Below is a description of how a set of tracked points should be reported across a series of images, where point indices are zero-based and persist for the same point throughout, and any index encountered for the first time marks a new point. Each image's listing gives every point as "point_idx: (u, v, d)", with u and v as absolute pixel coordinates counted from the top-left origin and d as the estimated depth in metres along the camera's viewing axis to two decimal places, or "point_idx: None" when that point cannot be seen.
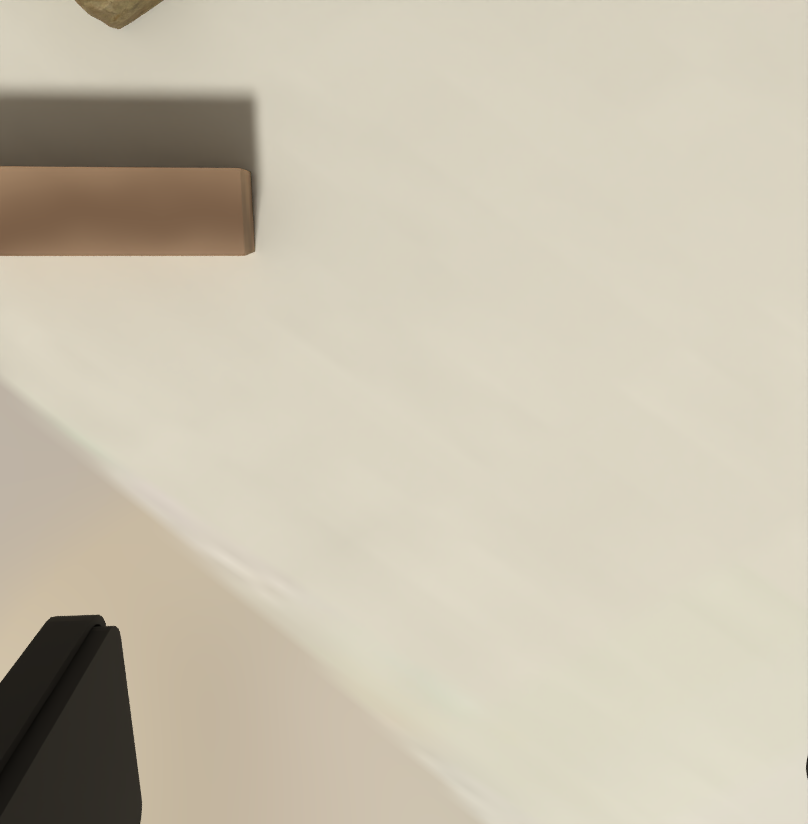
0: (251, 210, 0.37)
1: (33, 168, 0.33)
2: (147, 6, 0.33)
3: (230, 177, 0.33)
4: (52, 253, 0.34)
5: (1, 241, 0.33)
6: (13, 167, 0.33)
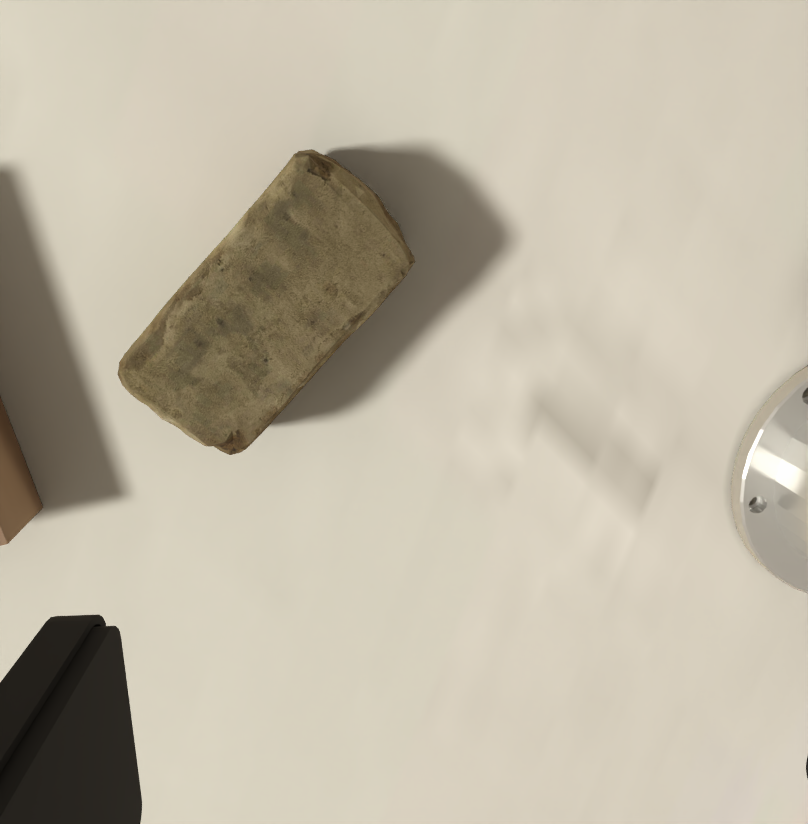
0: None
1: None
2: None
3: None
4: None
5: None
6: None
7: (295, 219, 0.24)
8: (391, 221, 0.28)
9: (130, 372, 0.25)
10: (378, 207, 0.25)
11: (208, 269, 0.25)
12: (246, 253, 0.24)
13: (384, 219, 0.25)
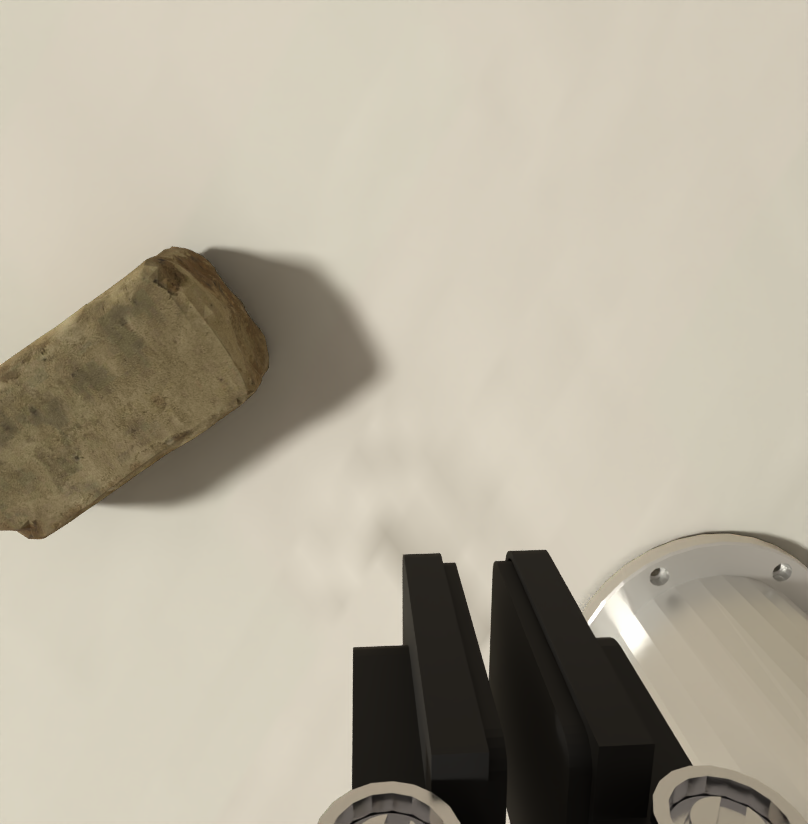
0: None
1: None
2: None
3: None
4: None
5: None
6: None
7: (131, 326, 0.23)
8: (254, 335, 0.27)
9: None
10: (227, 329, 0.24)
11: (30, 356, 0.23)
12: (72, 349, 0.23)
13: (230, 343, 0.24)
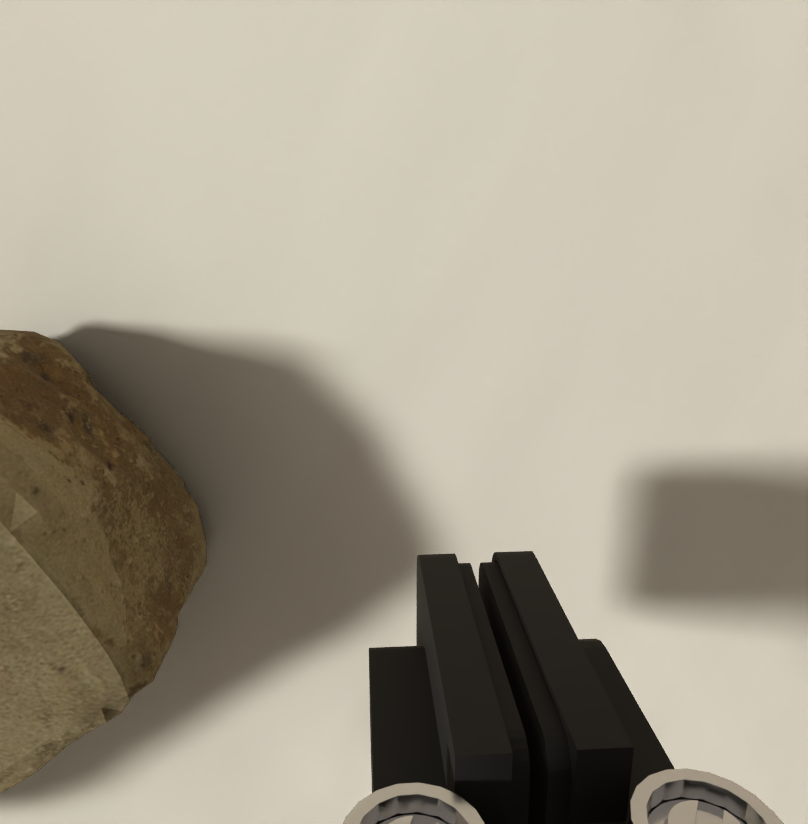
0: None
1: None
2: None
3: None
4: None
5: None
6: None
7: None
8: (170, 514, 0.13)
9: None
10: (80, 544, 0.10)
11: None
12: None
13: (86, 579, 0.10)
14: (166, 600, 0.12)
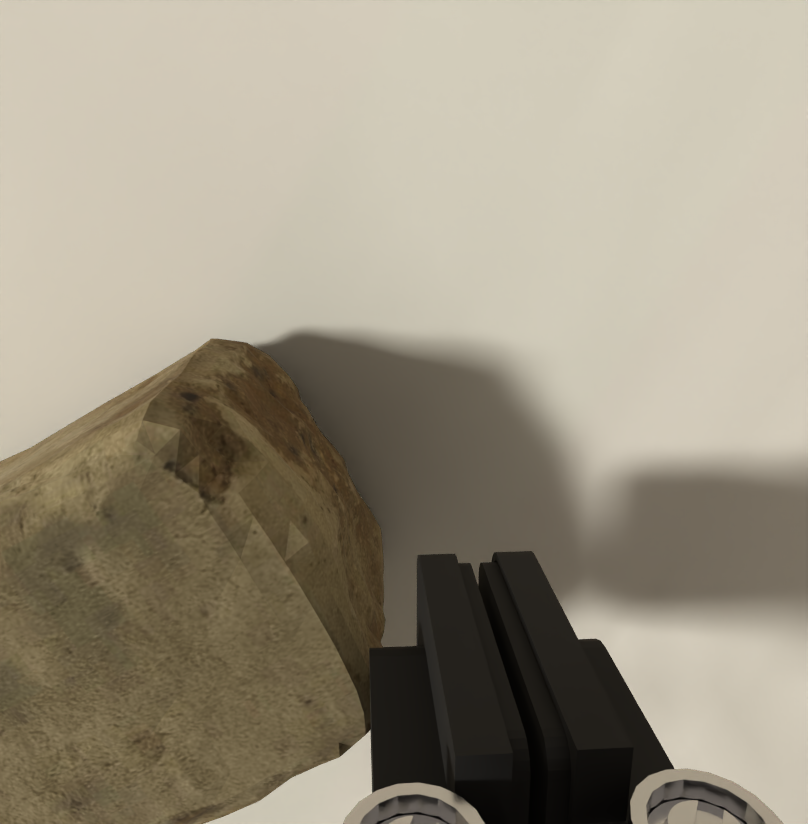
0: None
1: None
2: None
3: None
4: None
5: None
6: None
7: (95, 574, 0.09)
8: (366, 539, 0.12)
9: None
10: (335, 575, 0.10)
11: None
12: None
13: (339, 612, 0.10)
14: (375, 630, 0.11)
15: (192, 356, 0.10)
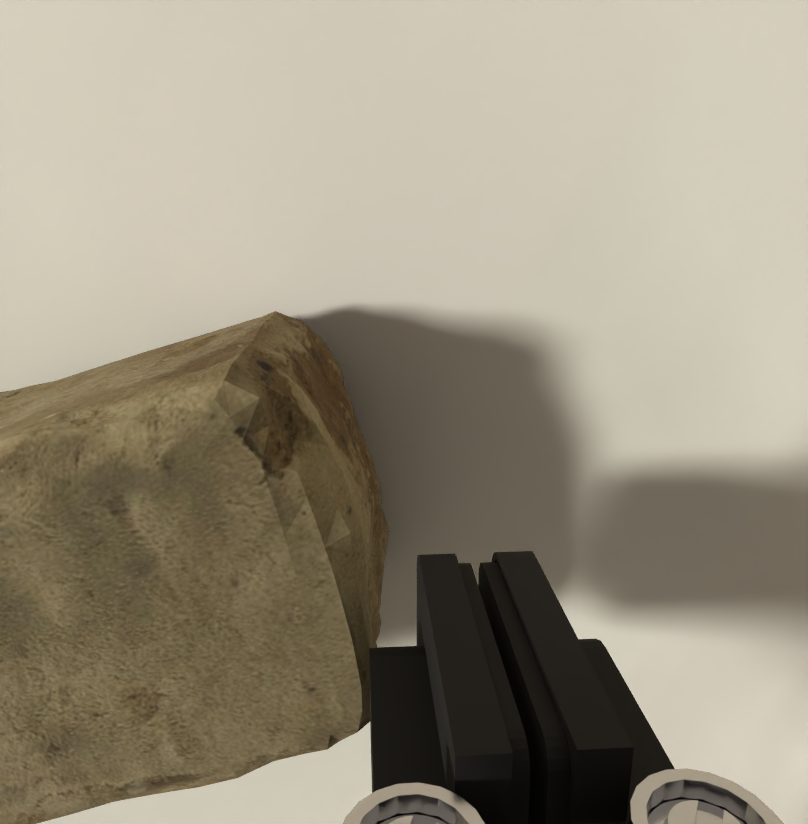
0: None
1: None
2: None
3: None
4: None
5: None
6: None
7: (138, 523, 0.08)
8: (378, 538, 0.12)
9: None
10: (363, 570, 0.10)
11: None
12: None
13: (360, 607, 0.10)
14: (374, 630, 0.11)
15: (261, 325, 0.10)
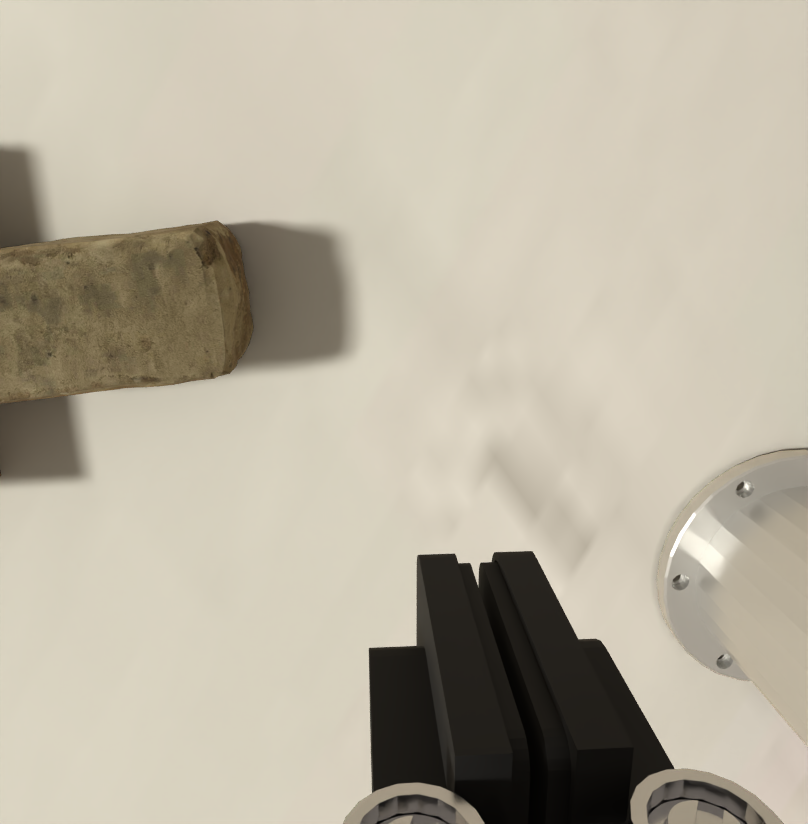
0: None
1: None
2: None
3: None
4: None
5: None
6: None
7: (157, 274, 0.25)
8: (246, 324, 0.30)
9: None
10: (232, 314, 0.27)
11: (57, 254, 0.25)
12: (96, 266, 0.25)
13: (229, 326, 0.27)
14: (237, 353, 0.29)
15: (209, 222, 0.27)
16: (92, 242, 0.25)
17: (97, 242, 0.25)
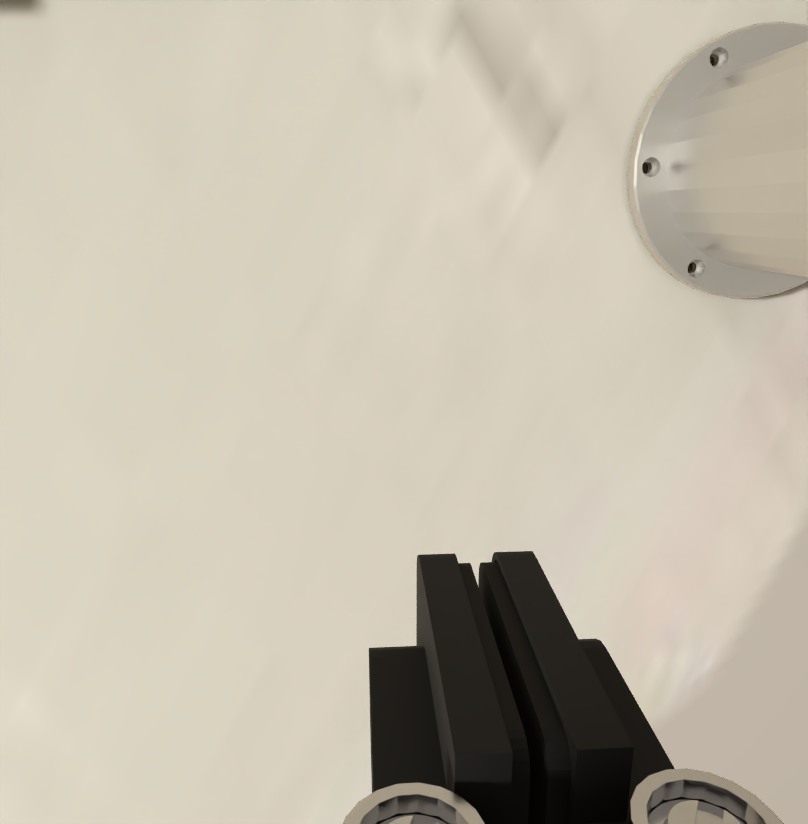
0: None
1: None
2: None
3: None
4: None
5: None
6: None
7: None
8: None
9: None
10: None
11: None
12: None
13: None
14: None
15: None
16: None
17: None
